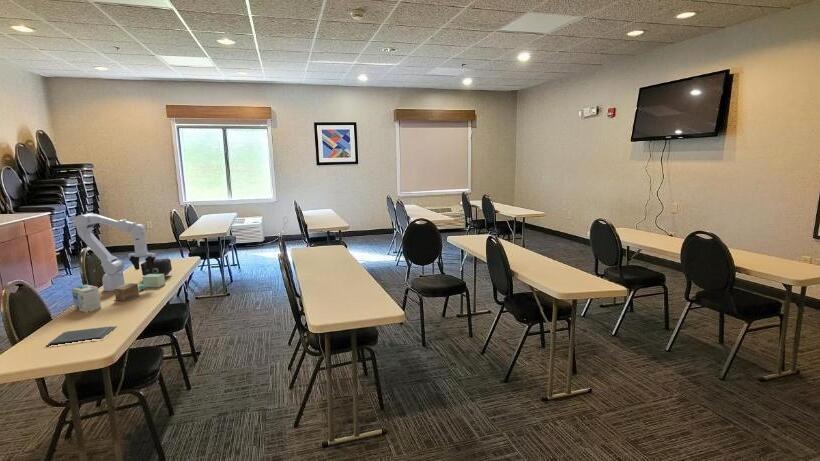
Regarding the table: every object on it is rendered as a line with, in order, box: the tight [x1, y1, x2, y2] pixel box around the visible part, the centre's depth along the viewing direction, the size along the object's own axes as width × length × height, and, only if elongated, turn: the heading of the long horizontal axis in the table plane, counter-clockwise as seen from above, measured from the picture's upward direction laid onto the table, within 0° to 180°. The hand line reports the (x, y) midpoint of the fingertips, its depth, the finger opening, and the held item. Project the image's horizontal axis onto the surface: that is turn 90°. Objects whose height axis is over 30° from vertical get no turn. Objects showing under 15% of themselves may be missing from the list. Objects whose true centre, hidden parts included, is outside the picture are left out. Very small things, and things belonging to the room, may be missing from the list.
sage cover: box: [142, 274, 166, 288], centre depth 231 cm, size 5×9×6 cm, turn 85°
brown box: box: [114, 283, 140, 300], centre depth 211 cm, size 5×9×6 cm, turn 175°
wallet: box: [45, 325, 118, 348], centre depth 166 cm, size 20×2×15 cm
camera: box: [140, 258, 173, 277], centre depth 247 cm, size 11×11×15 cm
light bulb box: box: [71, 284, 102, 313], centre depth 196 cm, size 11×7×11 cm, turn 62°
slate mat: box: [113, 294, 141, 302], centre depth 211 cm, size 8×8×1 cm
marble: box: [138, 284, 146, 291], centre depth 224 cm, size 3×3×3 cm
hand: (143, 269), depth 229 cm, fingers open, 7 cm apart
